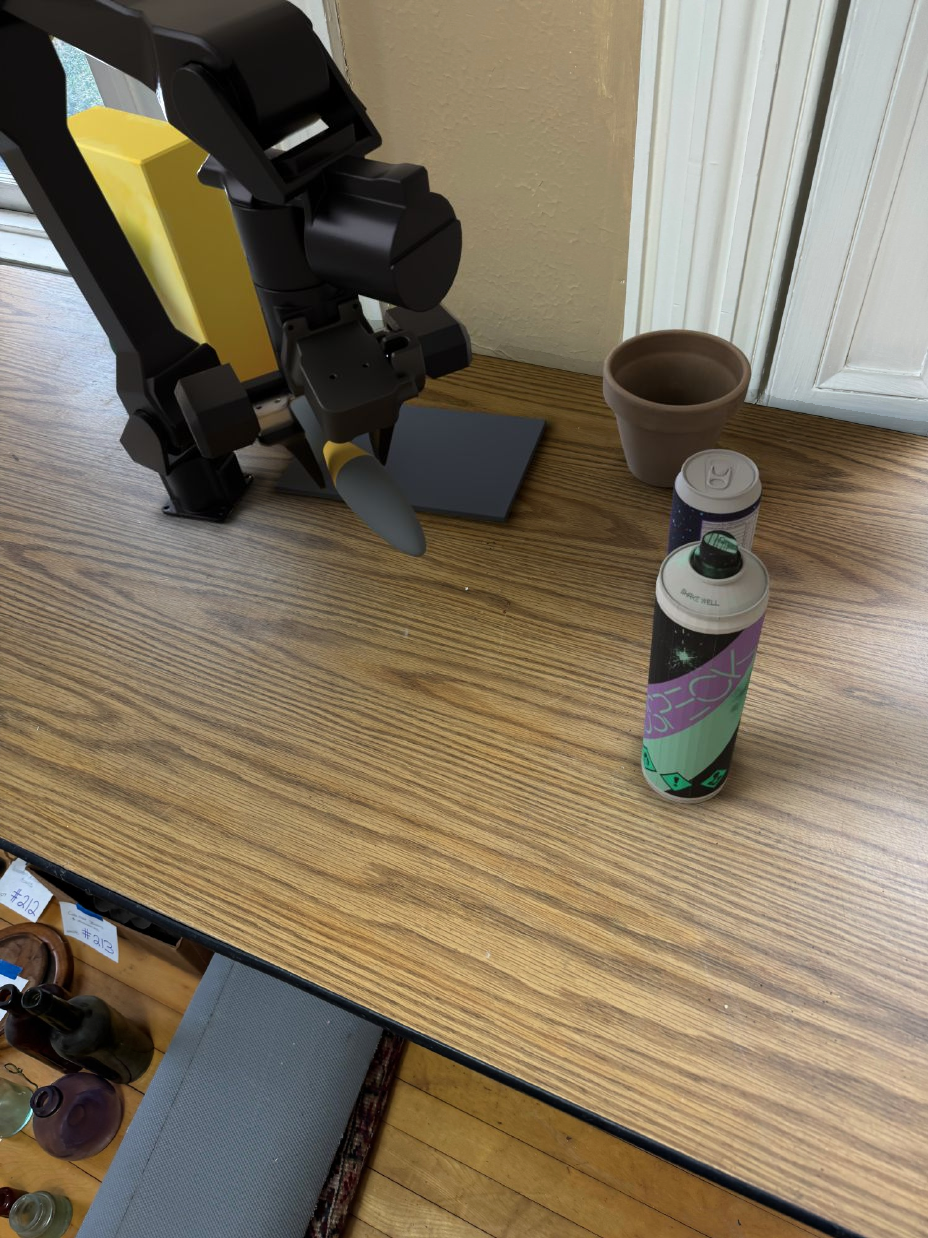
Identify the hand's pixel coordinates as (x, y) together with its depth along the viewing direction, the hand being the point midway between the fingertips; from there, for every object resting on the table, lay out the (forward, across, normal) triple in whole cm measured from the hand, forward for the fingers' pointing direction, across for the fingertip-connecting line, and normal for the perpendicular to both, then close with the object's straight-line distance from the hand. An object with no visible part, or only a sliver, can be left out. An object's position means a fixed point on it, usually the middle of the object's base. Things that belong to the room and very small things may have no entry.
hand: (351, 474), depth 62 cm
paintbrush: (+2, +1, 0) cm, 2 cm away
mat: (+11, +9, +13) cm, 19 cm away
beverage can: (+10, +21, -15) cm, 28 cm away
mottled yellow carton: (+12, -6, +40) cm, 42 cm away
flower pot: (+11, +27, -1) cm, 29 cm away
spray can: (+10, +11, -27) cm, 31 cm away
